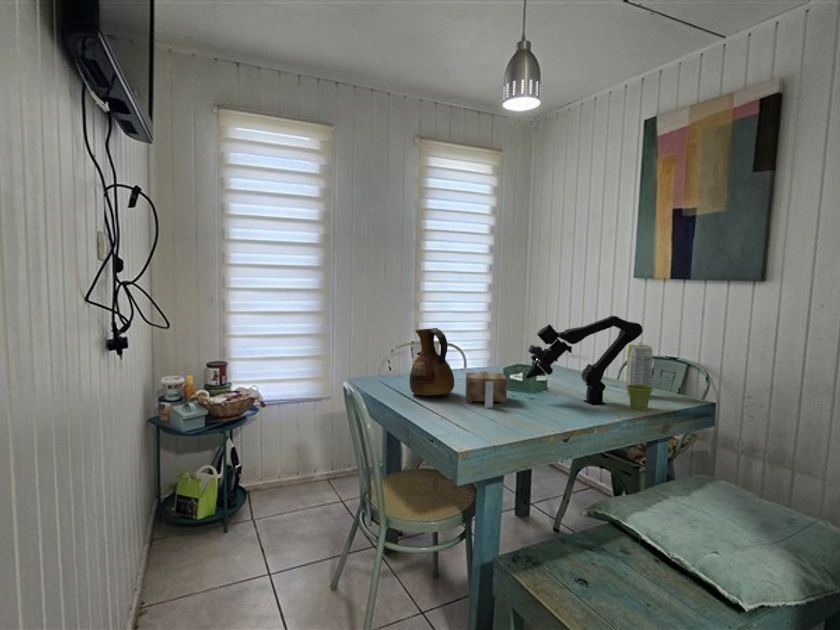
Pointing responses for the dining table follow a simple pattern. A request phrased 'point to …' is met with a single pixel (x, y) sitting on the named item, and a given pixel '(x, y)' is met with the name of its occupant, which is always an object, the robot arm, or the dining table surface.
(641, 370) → the juice carton
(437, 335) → the ceramic pitcher
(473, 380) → the wood grain box
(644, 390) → the plant pot
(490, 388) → the post
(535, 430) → the dining table surface
